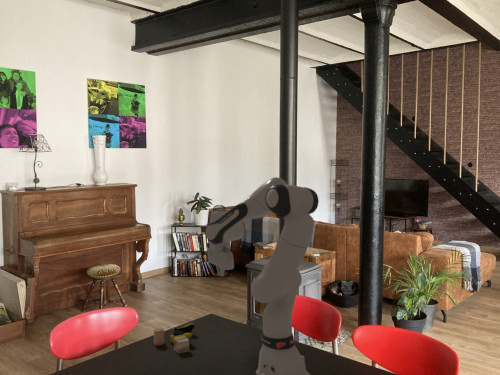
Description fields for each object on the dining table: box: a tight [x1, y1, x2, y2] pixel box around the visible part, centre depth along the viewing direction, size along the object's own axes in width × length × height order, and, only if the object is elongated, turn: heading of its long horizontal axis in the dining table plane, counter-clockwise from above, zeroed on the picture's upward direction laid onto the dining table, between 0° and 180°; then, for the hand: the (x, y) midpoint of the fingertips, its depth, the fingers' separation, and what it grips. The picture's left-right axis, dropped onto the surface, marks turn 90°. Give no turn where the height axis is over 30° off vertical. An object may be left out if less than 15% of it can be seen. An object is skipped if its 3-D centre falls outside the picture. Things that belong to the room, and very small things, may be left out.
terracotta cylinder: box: [153, 327, 165, 347], centre depth 203 cm, size 4×4×6 cm
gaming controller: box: [169, 322, 196, 344], centre depth 208 cm, size 15×6×10 cm
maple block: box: [173, 336, 190, 355], centre depth 196 cm, size 5×5×5 cm
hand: (220, 275), depth 209 cm, fingers closed
